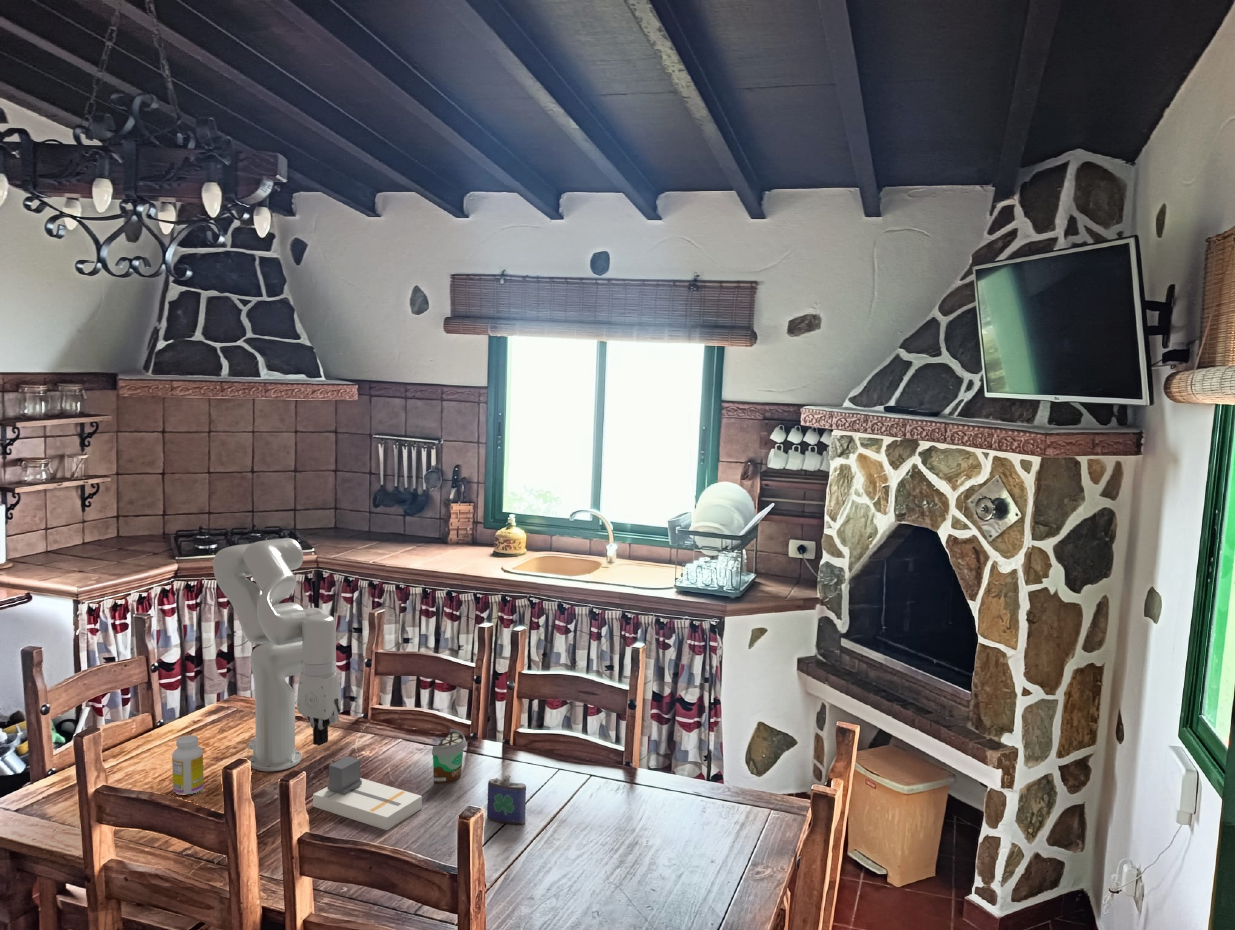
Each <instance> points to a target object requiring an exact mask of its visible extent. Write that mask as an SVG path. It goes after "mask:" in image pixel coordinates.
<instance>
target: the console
mask: <svg viewBox="0 0 1235 930" xmlns="http://www.w3.org/2000/svg"><path fill="white" fill-rule="evenodd" d="M360 780H362V785H360V786H358V787H356V788H354V789H353V790H351V791H349V792H347V793H345V794H341V793H338V792H334V791H331V790H328V789H327V786H326V787H324V788H322V789H320V790H318V791H316V792H314V793H313V794H312V795H313V796H312V799H313V800H312V807H314V808H317V809H320V810H323V811H325V812H329V813H332V814H335V815H338V816H341V817H344V818H348V819H351V820H354V821H356V822H360V823H363V824H366V825H369V826H372V827H376V828H379V829H381V830H384V831H389V830H390V829H392V828H393V827H395V826H396V825H397V824H399V823H401V822H403V821H404V820H406V819H407V818H408V817H411V816H413V815H414V814H415V813H417V812H418V811H420V810H423V809H422V808H423V796H422V795H420V794H416V793H414V792H410V791H406V790H403V789H399V788H396V787H392V786H390V785H386V784H382V783H379V782H375V781H372V780H369V779H365V778H362V777H360Z"/></svg>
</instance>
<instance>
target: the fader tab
mask: <svg viewBox="0 0 1235 930" xmlns="http://www.w3.org/2000/svg"><path fill="white" fill-rule="evenodd" d="M360 778H361V759H359V758H355V757H352V756H349V755H346V756H345V757H343V758H341V759H339V760H337V761H334V762H332V763H330V764H329V766H328V784H327V786H326V787H327V789H328V790H331V791H334V792H338V793H341V794H345V793H347V792H349V791H351V790H353V789H354V788H356V787H358V786H360V785H362V780H360Z"/></svg>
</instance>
